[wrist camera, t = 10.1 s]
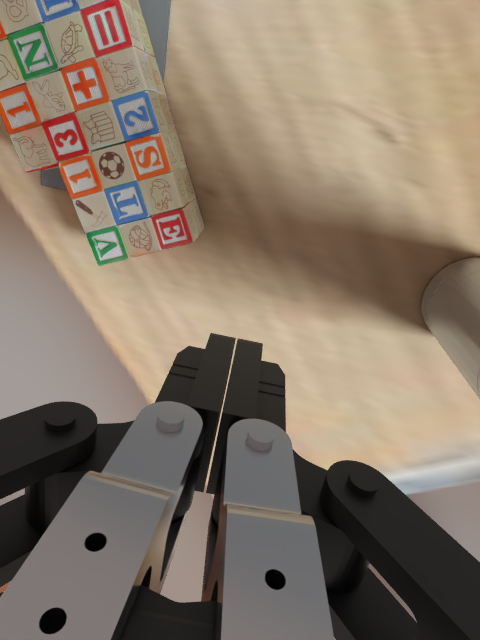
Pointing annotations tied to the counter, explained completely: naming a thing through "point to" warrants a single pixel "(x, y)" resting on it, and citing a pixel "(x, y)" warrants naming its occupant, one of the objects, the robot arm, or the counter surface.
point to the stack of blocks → (97, 121)
